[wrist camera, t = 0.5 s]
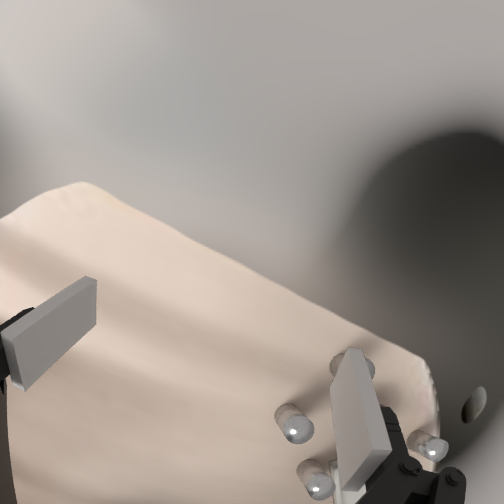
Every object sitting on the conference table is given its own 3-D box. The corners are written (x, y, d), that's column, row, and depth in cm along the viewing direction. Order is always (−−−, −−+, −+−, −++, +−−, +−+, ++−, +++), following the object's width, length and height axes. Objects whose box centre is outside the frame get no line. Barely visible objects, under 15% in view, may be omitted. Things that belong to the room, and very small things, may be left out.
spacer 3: (354, 374, 48) (376, 381, 40) (331, 380, 48) (351, 389, 40) (350, 351, 49) (372, 355, 41) (327, 357, 48) (347, 362, 41)
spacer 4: (423, 444, 46) (448, 455, 39) (406, 452, 46) (430, 465, 38) (423, 427, 47) (448, 437, 39) (406, 434, 46) (430, 446, 39)
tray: (395, 490, 44) (400, 494, 42) (335, 513, 42) (338, 518, 40) (393, 438, 46) (399, 441, 44) (329, 461, 44) (333, 466, 42)
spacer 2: (320, 475, 44) (336, 495, 36) (298, 481, 43) (311, 503, 35) (318, 456, 44) (334, 475, 37) (295, 462, 44) (308, 483, 36)
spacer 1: (301, 423, 46) (315, 439, 38) (276, 429, 45) (287, 447, 37) (297, 401, 46) (312, 414, 39) (272, 406, 46) (282, 421, 38)
